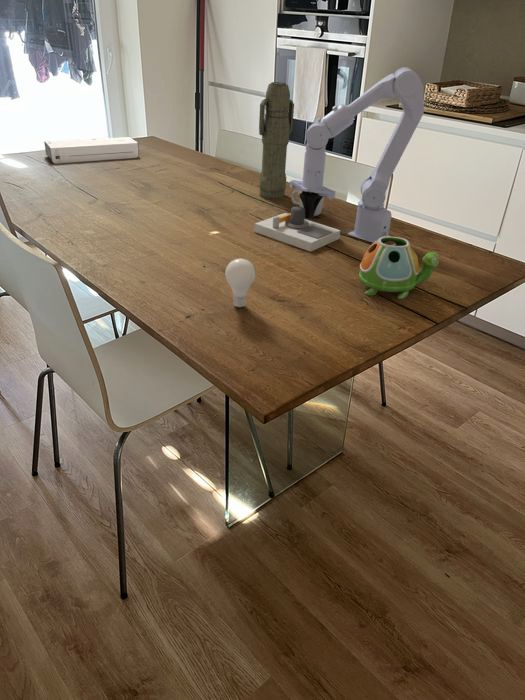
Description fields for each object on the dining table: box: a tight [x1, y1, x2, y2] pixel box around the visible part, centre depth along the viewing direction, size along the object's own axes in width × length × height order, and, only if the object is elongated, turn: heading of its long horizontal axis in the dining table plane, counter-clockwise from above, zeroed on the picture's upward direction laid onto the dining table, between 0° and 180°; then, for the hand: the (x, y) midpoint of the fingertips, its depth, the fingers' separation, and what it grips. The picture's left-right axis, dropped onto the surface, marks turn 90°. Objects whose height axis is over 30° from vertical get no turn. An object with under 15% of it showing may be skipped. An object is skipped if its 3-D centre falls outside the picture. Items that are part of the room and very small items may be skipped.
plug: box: [285, 206, 309, 230], centre depth 160 cm, size 7×7×7 cm
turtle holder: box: [358, 236, 440, 300], centre depth 131 cm, size 12×18×12 cm
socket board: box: [254, 212, 341, 252], centre depth 160 cm, size 20×14×3 cm
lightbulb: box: [224, 257, 256, 309], centre depth 119 cm, size 6×6×11 cm
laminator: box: [43, 136, 140, 165], centre depth 222 cm, size 34×12×6 cm, turn 118°
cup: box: [291, 189, 325, 217], centre depth 176 cm, size 11×8×8 cm
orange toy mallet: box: [272, 212, 291, 228], centre depth 161 cm, size 2×13×3 cm, turn 140°
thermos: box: [258, 81, 295, 200], centre depth 183 cm, size 9×12×35 cm
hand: (309, 217), depth 162 cm, fingers closed
